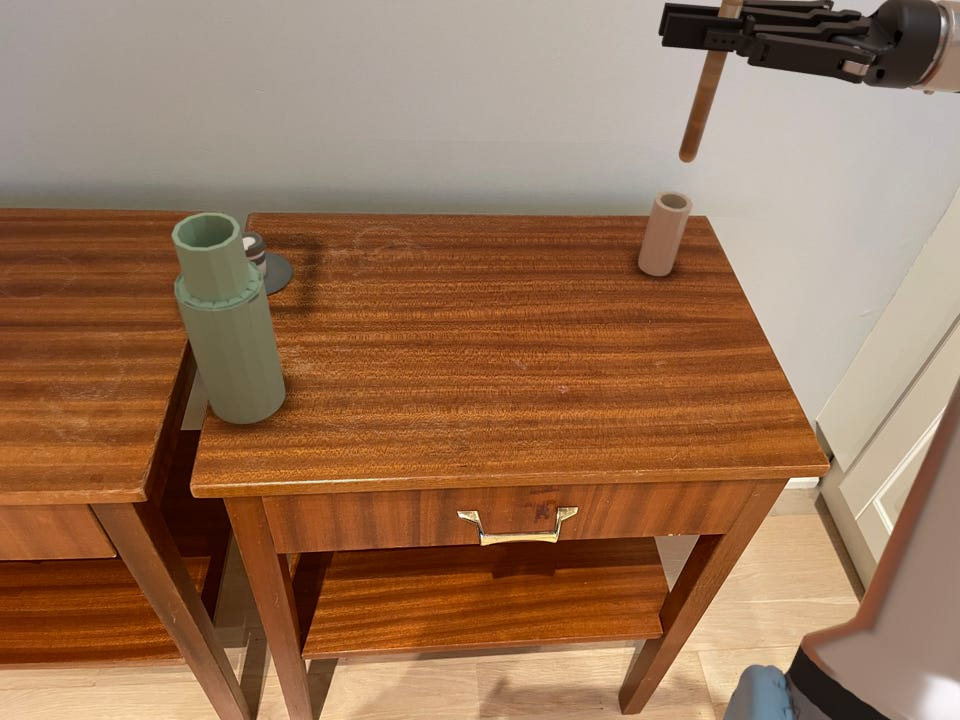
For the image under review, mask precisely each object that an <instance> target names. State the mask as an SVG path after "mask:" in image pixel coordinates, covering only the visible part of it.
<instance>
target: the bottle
mask: <svg viewBox="0 0 960 720" xmlns="http://www.w3.org/2000/svg"><path fill="white" fill-rule="evenodd" d="M241 233H242V230H241V226H240V224H239V223H238V222H237V220H236V219H235V217H232V216H231V215H228V214H225V213H223V212H210V211H209V212H207V211H206V212H199V213H196V214H193V215H189V216H187V217H185V218H183V219H182V220H181V221H179V222H177V223H176V224H175V226H174V227H173V230H172V232H171V235H170V236H171V239H172V243H173V246H174V250H175V252H176V257H177V259H178V262H179V266H180V269H181V272H180V273H179V275H178V276H177V278H176V279H175V281H174V283H173V285H174V289H173V291H174V296H175V299H176V302H177V306H178V308H179V312H180V315H181V319H182V322H183V324H184V327H185V331H186V334H187V337H188V340H189V343H190V347H191V349H192V354H193V356H194V358H195V362H196V365H197V368H198V371H199V375H200V378H201V381H202V384H203V387H204V390H205V393H206V396H207V400H208V403H209V405H210V406H211V411H213V413H214V414H215V415H216V416H217V417H218V418H219V419H221V420H222V421H224V422H227V423H230V424H233V425H235V424H236V425H248V424H249V425H251V424H255V423H259V422H261V421H263V420H266V419H267V418H270V417H271V416H272V415H274V414H275V413H276V412H277V411H279V409H280V408H281V406H282V405H283V404H284V401H285V398H286V388H285V381H284V376H283V371H282V370H283V369H282V366H281V360H280V356H279V355H280V354H279V350H278V345H277V340H276V336H275V330H274V325H273V321H272V315H271V310H270V305H269V301H268V295H266V290H265V285H264V280H263V275H262V271H261V270H260V269H259V268H258V267H257V265H256V264H255V263H253V262H252V261H249V260H247V258H246V253H245V248H244V244H243V239H242V234H241Z"/></svg>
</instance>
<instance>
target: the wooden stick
mask: <svg viewBox="0 0 960 720" xmlns="http://www.w3.org/2000/svg"><path fill="white" fill-rule="evenodd" d="M742 5H743V0H722V1H721V3H720V6H719V7H720V10H719V14H718V17H726V18H739V15H740V11H741V8H742ZM728 53H729V52H721V51H709V50H707V52H706V56H705V59H704V63H703V66H702V70H701V73H700V77H699V80H698V84H697V87H696V91H695V94H694V98H693V102H692V105H691V107H690V112H689V115H688V118H687V119H688V120H687V122H686V126H685V129H684V133H683V137H682V140H681V144H680V147H679V151H678V159H679V160H680V161H681V162H683V163H685V164H689V163H692V162H693V161H694V160H695V159H696V158H697V155H698V151H699V148H700V145H701V142H702V139H703V135H704V132H705V130H706V125H707V122H708V120H709V115H710V113H711V109H712V106H713V103H714V99H715V96H716V93H717V89H718V86H719V83H720V80H721V76H722V73H723V70H724V67H725V64H726V60H727V57H728Z"/></svg>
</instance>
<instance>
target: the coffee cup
mask: <svg viewBox="0 0 960 720" xmlns="http://www.w3.org/2000/svg"><path fill="white" fill-rule="evenodd" d="M241 234H242V239H243V244H244V248H245V253H246V258H247V260H249V261H252V262H253V263H255V264H256V265H257V267H258V268H259V269H260V270H261V271H262V275H263V280H264V285H265V290H266V295H267V296H270V295H273V294H275V293H277V292H279V291H281V290H282V289H284V288H285V287H286V286H287V285H288V284H289V283H290V281H291V280H292V277H293V274H294V273H293V272H294V269H293V266H292V264H291V262H290V261H289V260H288V259H287V258H286V257H285V256H282V255H281V254H279V253H278V254H277V253H274V252H269V251H266V250H267V248H268V246H267V243H266V242H265V240H264V238H263V236H262V235H261V234H260V233H258V232H256V231H255V232H254V231H245V232H244V231H243V232H241Z"/></svg>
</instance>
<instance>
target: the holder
mask: <svg viewBox="0 0 960 720" xmlns="http://www.w3.org/2000/svg"><path fill="white" fill-rule="evenodd" d="M693 205H694V204H693V201H692V199H691V198H690V197H688V196H687V195H686V194H684V193H682V192H679V191H675V190H663V191H661V192H658V193H657V194H656V195H655V197H654V200H653V204H652V206H651V207H652V208H651V210H650V215H649V218H648V222H647V226H646V229H645V233H644V237H643V239H642V243H641V247H640V250H639V251H640V252H639V256H638V261H637V265H638V268H639V269H640V270H641V271H642V272H644V273H645V274H647V275H649V276H654V277H664V276H667V275H669V274H670V273H671V272H672V270H673V267H674V265H675V262H676V258H677V255H678V252H679V250H680V246H681V243H682V239H683V237H684V234H685V230H686V228H687V224H688V221H689V218H690V215H691V212H692V209H693Z"/></svg>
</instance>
